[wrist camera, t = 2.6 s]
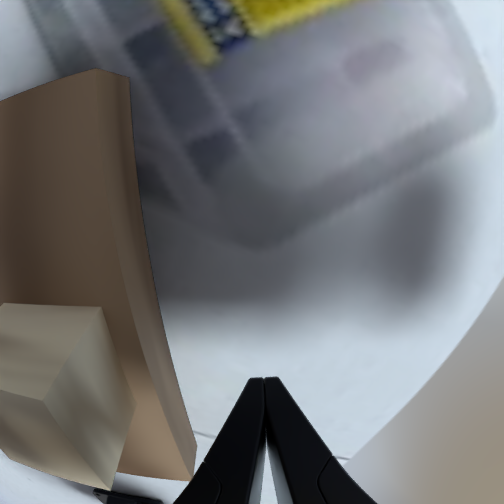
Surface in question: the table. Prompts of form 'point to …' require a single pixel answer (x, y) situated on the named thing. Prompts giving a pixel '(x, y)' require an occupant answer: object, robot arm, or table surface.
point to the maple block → (62, 392)
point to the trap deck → (91, 245)
